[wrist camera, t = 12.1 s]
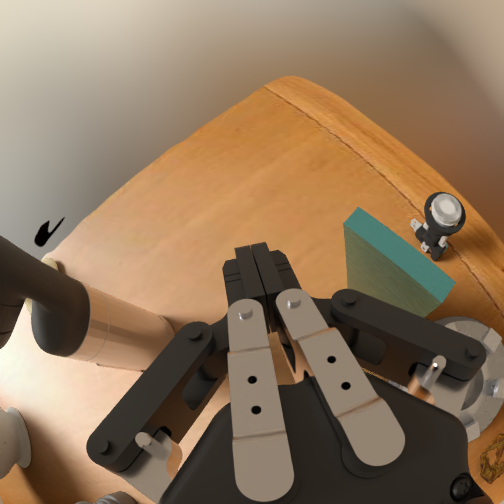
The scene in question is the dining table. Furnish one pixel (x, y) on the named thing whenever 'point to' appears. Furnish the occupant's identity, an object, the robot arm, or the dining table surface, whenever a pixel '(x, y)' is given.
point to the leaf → (492, 471)
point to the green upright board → (421, 305)
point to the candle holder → (113, 499)
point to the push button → (439, 222)
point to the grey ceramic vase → (13, 441)
